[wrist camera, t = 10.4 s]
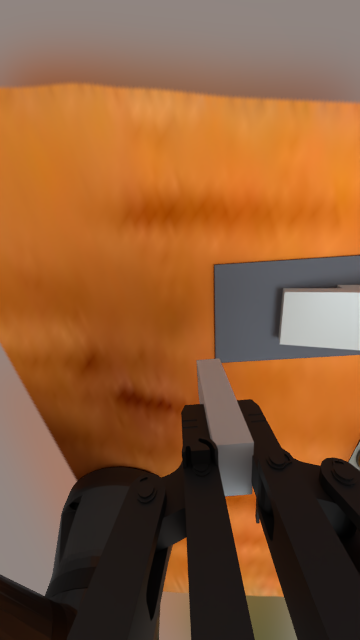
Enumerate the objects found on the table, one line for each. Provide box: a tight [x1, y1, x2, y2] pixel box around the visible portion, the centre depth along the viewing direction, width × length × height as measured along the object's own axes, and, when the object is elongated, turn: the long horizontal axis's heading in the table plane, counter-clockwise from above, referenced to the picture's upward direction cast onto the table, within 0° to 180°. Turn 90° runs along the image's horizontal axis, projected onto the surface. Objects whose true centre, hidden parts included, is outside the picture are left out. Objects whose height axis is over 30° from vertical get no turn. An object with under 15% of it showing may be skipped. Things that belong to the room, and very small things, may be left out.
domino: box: [278, 288, 360, 350], centre depth 19 cm, size 2×5×10 cm
